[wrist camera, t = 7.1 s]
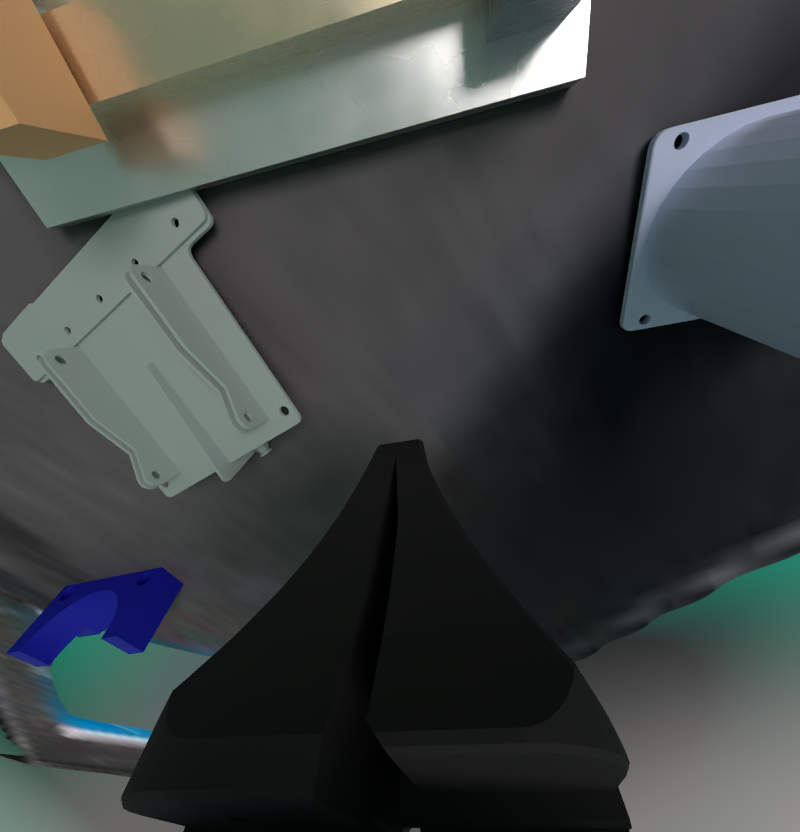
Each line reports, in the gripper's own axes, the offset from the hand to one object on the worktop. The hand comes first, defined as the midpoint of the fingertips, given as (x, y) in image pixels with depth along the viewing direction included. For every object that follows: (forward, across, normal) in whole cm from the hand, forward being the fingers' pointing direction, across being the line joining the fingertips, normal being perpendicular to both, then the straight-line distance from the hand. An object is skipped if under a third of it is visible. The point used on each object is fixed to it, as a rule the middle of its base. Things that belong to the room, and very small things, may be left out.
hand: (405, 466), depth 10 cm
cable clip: (+10, +32, +20) cm, 39 cm away
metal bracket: (+10, +13, -2) cm, 16 cm away
